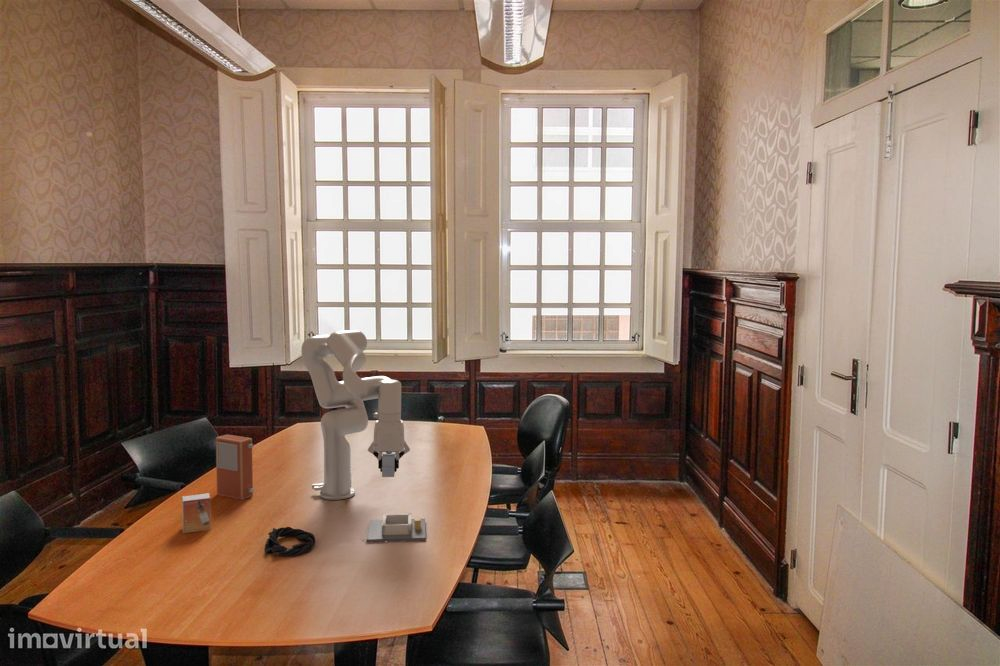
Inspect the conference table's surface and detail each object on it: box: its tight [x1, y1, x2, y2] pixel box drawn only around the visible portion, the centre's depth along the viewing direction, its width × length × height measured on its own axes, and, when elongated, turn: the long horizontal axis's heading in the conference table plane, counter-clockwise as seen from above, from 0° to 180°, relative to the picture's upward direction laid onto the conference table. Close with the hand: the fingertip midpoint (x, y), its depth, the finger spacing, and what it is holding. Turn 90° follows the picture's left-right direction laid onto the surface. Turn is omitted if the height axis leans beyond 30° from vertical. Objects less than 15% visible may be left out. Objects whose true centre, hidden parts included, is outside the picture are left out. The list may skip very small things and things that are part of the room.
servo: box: [381, 452, 396, 478], centre depth 220 cm, size 4×10×7 cm, turn 7°
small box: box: [181, 492, 212, 534], centre depth 208 cm, size 8×6×10 cm
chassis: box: [365, 512, 427, 543], centre depth 209 cm, size 18×16×4 cm
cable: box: [264, 526, 316, 558], centre depth 197 cm, size 17×14×4 cm
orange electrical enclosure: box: [215, 434, 255, 500], centre depth 240 cm, size 21×7×15 cm
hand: (388, 470), depth 221 cm, fingers closed on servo, 4 cm apart
